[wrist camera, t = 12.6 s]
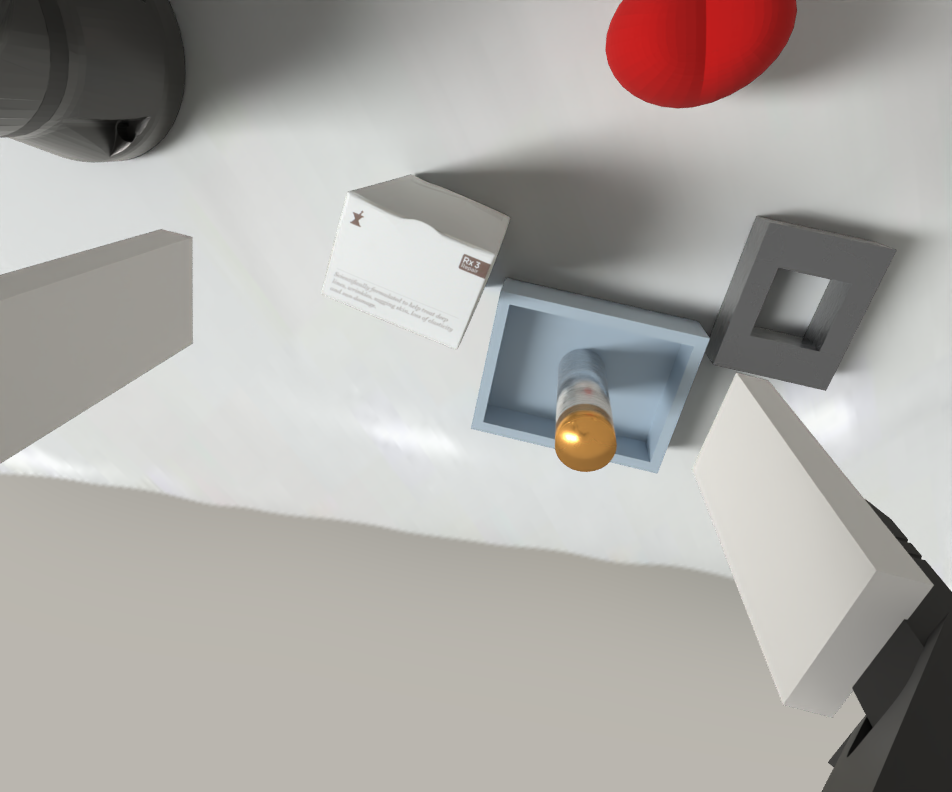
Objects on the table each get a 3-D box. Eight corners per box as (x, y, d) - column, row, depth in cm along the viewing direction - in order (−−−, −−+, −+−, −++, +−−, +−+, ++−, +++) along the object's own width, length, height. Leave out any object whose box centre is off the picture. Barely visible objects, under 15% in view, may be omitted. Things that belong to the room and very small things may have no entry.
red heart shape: (602, 122, 39) (613, 120, 30) (595, -1, 36) (604, -45, 27) (752, 97, 37) (811, 87, 28) (756, -34, 35) (822, -92, 26)
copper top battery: (552, 385, 46) (548, 463, 36) (564, 343, 45) (563, 412, 34) (597, 396, 46) (606, 477, 35) (610, 354, 45) (624, 426, 34)
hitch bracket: (704, 350, 44) (713, 364, 42) (756, 215, 40) (770, 222, 37) (810, 374, 44) (825, 390, 41) (874, 241, 40) (896, 249, 37)
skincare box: (386, 246, 45) (308, 297, 31) (412, 167, 42) (338, 185, 29) (488, 290, 45) (454, 359, 31) (519, 214, 42) (497, 254, 29)
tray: (478, 406, 49) (471, 428, 45) (506, 277, 44) (500, 290, 41) (650, 447, 48) (657, 473, 45) (698, 321, 44) (709, 338, 40)
